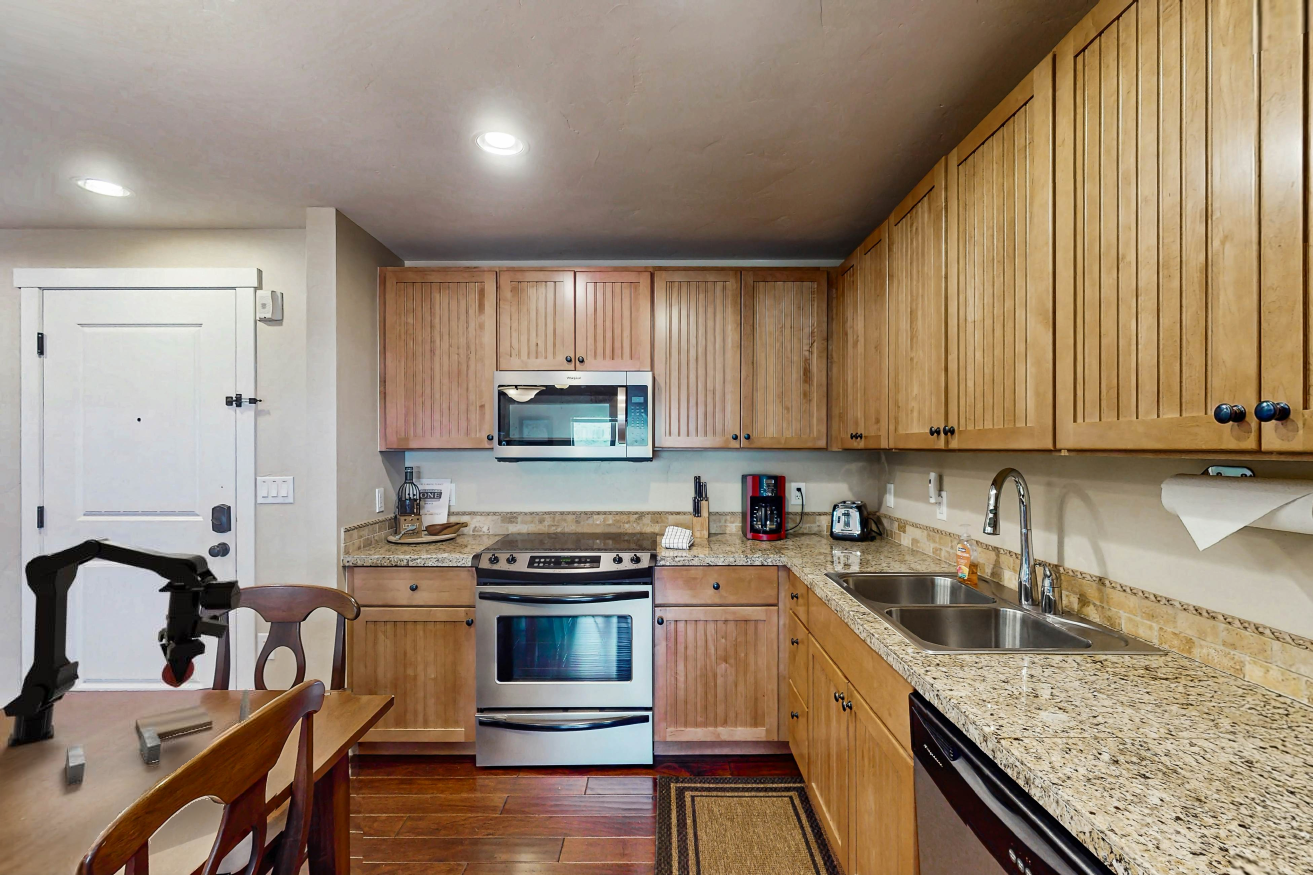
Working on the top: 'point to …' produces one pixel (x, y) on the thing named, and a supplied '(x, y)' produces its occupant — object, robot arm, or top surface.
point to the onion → (169, 677)
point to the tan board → (175, 721)
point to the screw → (244, 706)
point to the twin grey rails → (76, 760)
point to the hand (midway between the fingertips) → (177, 678)
